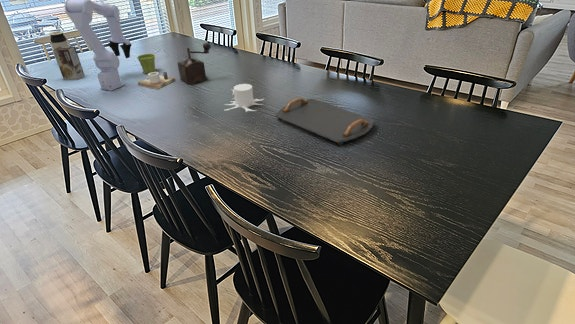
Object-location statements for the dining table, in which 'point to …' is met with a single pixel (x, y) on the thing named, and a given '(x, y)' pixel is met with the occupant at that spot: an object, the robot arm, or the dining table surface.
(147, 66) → the plant pot
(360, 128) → the serving board
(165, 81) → the pin board
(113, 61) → the robot arm
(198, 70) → the manual coffee grinder
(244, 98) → the tree stump
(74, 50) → the coffee box
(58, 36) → the travel mug
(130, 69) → the dining table surface
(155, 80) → the sleeve
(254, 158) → the dining table surface
